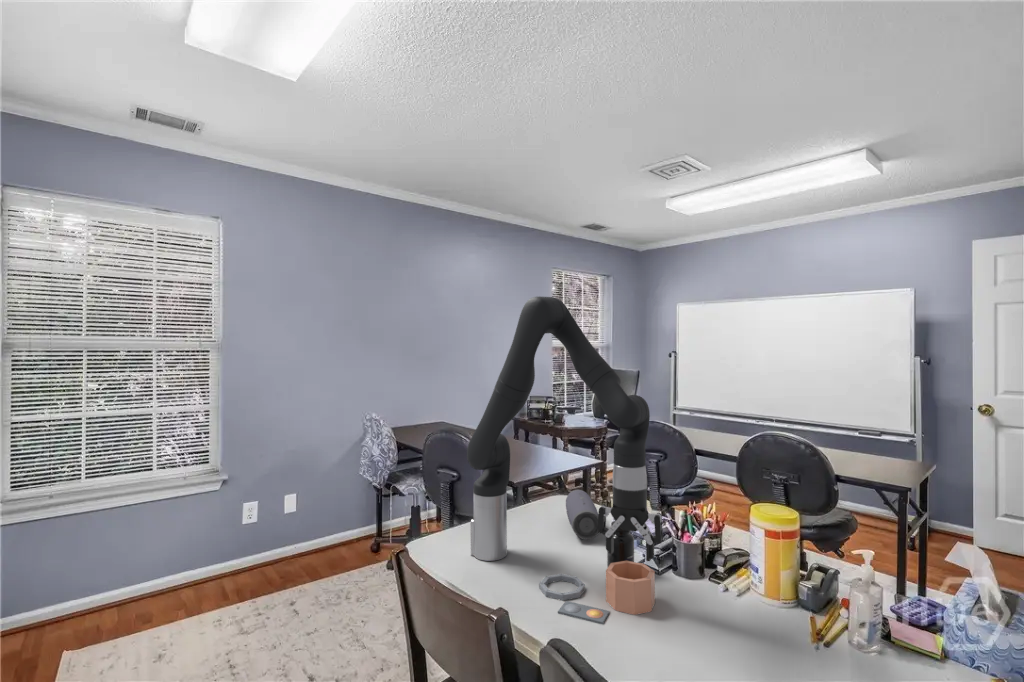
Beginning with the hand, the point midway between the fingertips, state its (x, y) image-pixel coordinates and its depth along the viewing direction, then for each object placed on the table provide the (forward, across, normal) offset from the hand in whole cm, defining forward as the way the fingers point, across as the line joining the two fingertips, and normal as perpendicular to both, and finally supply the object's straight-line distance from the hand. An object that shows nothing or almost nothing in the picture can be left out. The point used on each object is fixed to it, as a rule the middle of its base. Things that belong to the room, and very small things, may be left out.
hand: (629, 556), depth 114 cm
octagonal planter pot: (+10, 0, 0) cm, 10 cm away
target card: (+10, -8, -9) cm, 16 cm away
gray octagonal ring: (+10, -16, -1) cm, 19 cm away
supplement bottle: (+10, -6, +15) cm, 19 cm away
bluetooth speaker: (+11, -24, +38) cm, 46 cm away
